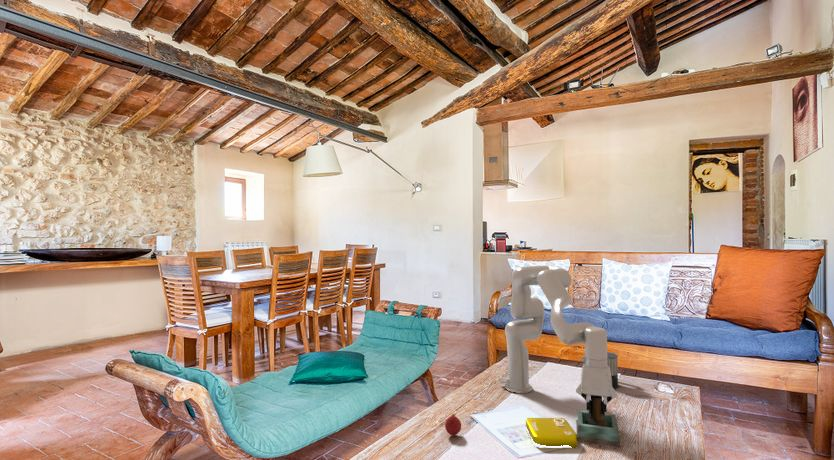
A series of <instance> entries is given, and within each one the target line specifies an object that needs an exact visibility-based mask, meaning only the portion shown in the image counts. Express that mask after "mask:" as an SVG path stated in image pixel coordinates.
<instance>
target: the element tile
mask: <svg viewBox="0 0 834 460" xmlns="http://www.w3.org/2000/svg"><path fill="white" fill-rule="evenodd" d="M526 427H527V429H528V431H529V434H530V436H531V437H532V439H533V441H534V442H535V443H537V444H540V445H546V446H561V445H562V446H563V445H569V446H571V447H572V448H574V449H577V448H578V441H577V432H576V431H575V430H574V429H573V427H572V426H571V425H570V423H569V422H568V420H567V419H565V418H564V417H527V418H526V419H525V428H526ZM576 447H577V448H576Z"/></svg>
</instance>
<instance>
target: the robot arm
mask: <svg viewBox="0 0 834 460" xmlns="http://www.w3.org/2000/svg"><path fill="white" fill-rule="evenodd" d="M571 284H572V275H571V274H570V272H569V271H568V270H567V269H565V268H562V267H558V266H557V267H556V266H552V265H532V266H531V265H530V266H529V265H528V266H519V267H517V268H515V269H514V270H513V271H512V273H511V286H512V287H511V288H512V292H511V299H510V300H511V301H510V312H509V313H510V315H511V317H512V318H513V319H515V320H512V321H509V322H508V323H507V324H506V325H505V328H504V334H505V340H506V348H507V349H506V351H507V354H506V355H507V377H500V376H499V377H498V382H500V384H504V389H505V388H506V389H507V390H508V392H510V391H511V392H510V393H513V392H516V393H515V394H528V392H529V393H531V392H532V391H533V386H532V384H530V376H529V375H530V373H529V372H530V371H529V368H530V367H529V362H530V361H529V349H528V347H527V346H526V344H525V342H526V341H528V342H529V341H533V340H538V339H539V338H541V336H542V333H543V327H544V320H545V319H544V317H545V306H544V303H543V301H542V300H541V299H540V298H538V297H532V289H531V286H539V287H540V289H541V291H542V293H543V294H544V295H545V298H546V300H547V301H548V303H549V304H550V306H551V309H550V314H549V315H550V317H549V319H550V324H551V328H552V329H553V330H554V334H556V336H557V338H558V339H559V341H560V342H561V343H562V344H565V345H566V346H571V345H578V344H584V356H583V357H580V362H583V364H582V368H581V377H580V384H578V386H577V388H576V389H575V393H577V395H579V396H581V398H583V400H584V401H586V411H589V413H591V395H594V396H602V415H605V413H607V410H608V408H607V405H608V404H609V402H610V401H612V400H614V399H616V398H618V393H617V392H616V389H613V387H612V379H611V371H610V368H609V366H607V352H608V333H607V330H606V329H605V328H603V327H599V326H595V325H594V324H592V323H590V322H585V321H583V322H582V321H581V322H575V323H567V321H566V320H565V318H564V316H563V313H562V310H563V309H565V308H567V307H568V306H569V305H570V303H571V301H572V295H570V293H569V291H568V290H567V288H570V286H571ZM506 389H505V390H506ZM507 390H506V391H507ZM530 391H531V392H530Z"/></svg>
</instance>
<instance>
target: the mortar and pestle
mask: <svg viewBox="0 0 834 460" xmlns="http://www.w3.org/2000/svg"><path fill="white" fill-rule="evenodd" d="M590 400H591V416H590V417H589V418H587V424H588V425H595V426H603V427H607V422H606V420H604V419H603V417H602V401H603V396H594V395H590Z"/></svg>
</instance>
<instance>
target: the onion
mask: <svg viewBox="0 0 834 460" xmlns="http://www.w3.org/2000/svg"><path fill="white" fill-rule="evenodd" d="M444 428H445V431H446V433H448V434H449V436H452V437H455V436H457V435H458V434H459V433H460V432H461V430H462V423H461V420H460V419H459V418H458V417H457V416H456V414H455V413H451V415H450V416H448V418H447V419H446V420H445V423H444Z"/></svg>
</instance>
